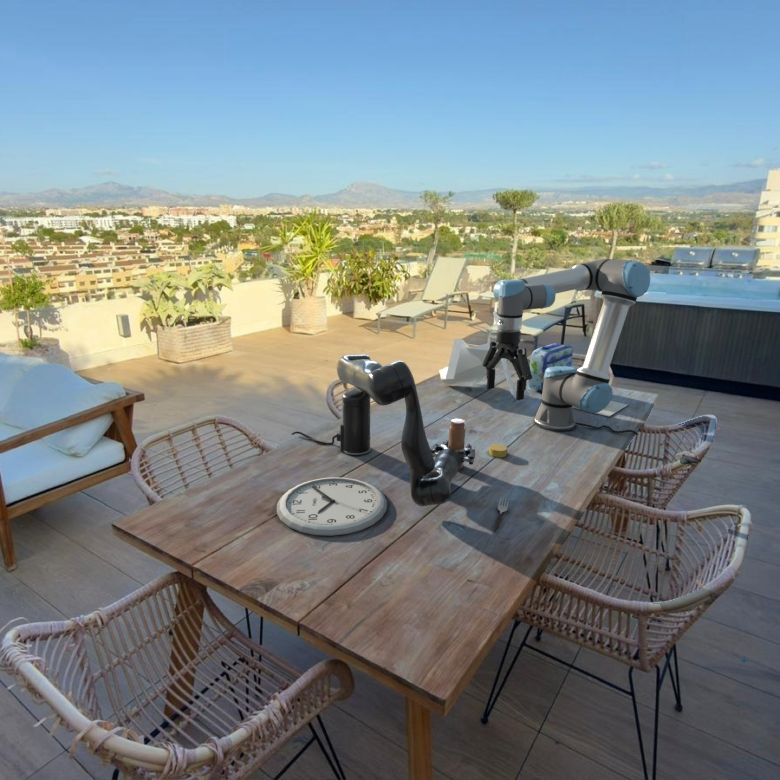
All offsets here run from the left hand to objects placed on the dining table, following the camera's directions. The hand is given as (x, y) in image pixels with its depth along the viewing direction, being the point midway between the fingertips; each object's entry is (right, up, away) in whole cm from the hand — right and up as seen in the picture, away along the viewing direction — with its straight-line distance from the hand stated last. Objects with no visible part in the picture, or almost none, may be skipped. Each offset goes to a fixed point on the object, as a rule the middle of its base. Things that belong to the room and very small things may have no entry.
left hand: (457, 445), depth 168 cm
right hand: (+16, +16, +4) cm, 23 cm away
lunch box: (+55, +19, +84) cm, 102 cm away
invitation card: (+70, +10, +59) cm, 92 cm away
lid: (+15, -2, +9) cm, 18 cm away
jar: (-1, -7, 0) cm, 7 cm away
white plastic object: (+20, +16, +76) cm, 80 cm away
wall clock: (-38, -14, -25) cm, 47 cm away
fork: (+7, -16, -30) cm, 35 cm away
